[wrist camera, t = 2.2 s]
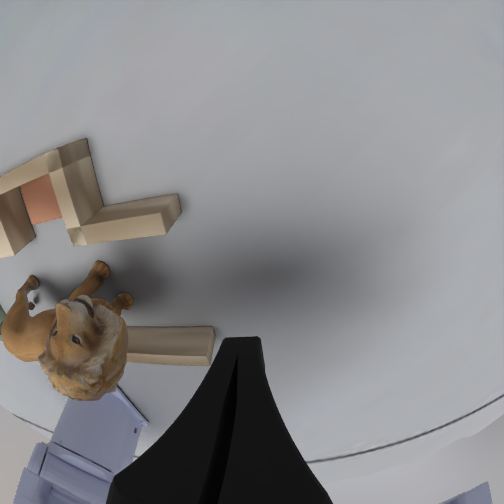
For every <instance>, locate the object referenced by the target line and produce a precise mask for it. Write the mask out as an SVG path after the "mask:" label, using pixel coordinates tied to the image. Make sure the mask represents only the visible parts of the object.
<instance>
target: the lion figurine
mask: <svg viewBox="0 0 504 504" xmlns="http://www.w3.org/2000/svg"><path fill="white" fill-rule="evenodd" d="M109 274H110V271H109V267H108V266H107V265H105V264H104V263H102V262H100V261H96V262H95V264H94V266H93V268H92V270H91V272H90V273H89V275H88V277H87V278H86V280H85V281H84V282H83V283H82V284H81V285H80V286H79V287H77V288H76V289H75V290H74V291H73V292H72V294H71V295H70V297H69V298H68V300H67V299H66V300H62V301H60V302H59V303H57V304H56V306H55V307H56V308H55V309H50V310H46V311H43V312H41V313H39V314H37V315H35V316H34V317H30V316H29V309H30V310H33V309H34V307H35V305H34V304H33V303H32V302H30V303H29V302H28V298H27V294H28V293H29V292H30V291H31V290H35V289H37V288H38V286H39V284H38V281H37V280H36V278H35V277H33V276H30V277H29V278H28V279H27V281H26V282H25V283H24V285H23V286H22V287H21V288H20V289H19V290H18V292H17V294H16V301H15V303H14V304H13V306H12V307H11V308H10V310H9V311H8V313H7V315H6V317H5V319H4V322H3V324H2V327H1V334H2V338H3V342H4V345H5V347H6V349H7V350H8V351H9V352H10V353H11V354H13V355H14V356H16V357H17V358H19V359H20V360H22V361H26V362H30V361H39V363H40V364H41V367H42V369H43V371H44V372H45V373H46V374H47V375H48V378H49V380H50V382H51V383H52V384H53V388H54V389H55V390H57V391H58V392H60V393H61V394H62V395H65V396H68V397H69V398H71V399H73V400H77V401H96V400H99V399H101V398H102V397H103V395H105V394H106V393H112V392H114V391H115V390H116V387H117V382H118V381H119V380H120V378H121V377H122V375H123V372H124V367H125V364H126V362H127V350H128V331H127V327H126V323H125V321H124V320H123V319H122V318H121V317H120V314H121V310H122V309H126V310H129V309H131V307H132V306H133V304H134V301H133V298H132V297H131V296H130V295H129V294H127V293H121V294H119V295H117V296H116V298H115V299H114V300H113V301H112V303H111V304H110V303H108V302H107V301H105V300H103V299H99V298H91V297H92V295H93V293H94V292H95V291H96V290H97V289H98V288H99V287H100V286H101V285H102V284H103V283H104V280H105V279H106V278H108V276H109Z"/></svg>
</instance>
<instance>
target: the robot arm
mask: <svg viewBox="0 0 504 504" xmlns="http://www.w3.org/2000/svg"><path fill="white" fill-rule="evenodd" d="M142 426H149V422H148V421H147V420H146V419H145V418H144V417H143V416H142V415H141V414H140V413H139V412H138V411H137V409H136V408H135V407H134V406H133V405H132V404H131V403H130V401H129V400H128V399H127V398H126V397H125V396H124V394H123V393H122V392H121V391H120V389H119V388H118V387H116V390H115V391H114V392H112V393H106V394H105V395H103V397H102V398H101V399H99V400H96V401H77V400H73V399H71V398H68V401H67V403H66V405H65V407H64V410H63V412H62V414H61V416H60V419H59V421H58V424H57V426H56V428H55V431H54V433H53V436H52V438H51V441H50V442H49V443H48V444H45V443H44V442H41V443H37V444H36V446H35V448H34V450H33V453H32V456H31V458H30V461H29V464H28V467H27V468H24V469H23V472H22V475H21V478H20V482H19V485H18V488H17V492H16V495H15V498H14V502H13V503H14V504H333V503H332V501H331V499H330V497H329V495H328V493H327V492H326V490H325V489H324V488H323V487H322V485H321V484H320V482H319V481H318V480H317V478H316V477H315V475H314V474H313V473H312V471H311V470H310V468H309V466H308V465H307V463H306V462H305V460H304V459H303V457H302V455H301V454H300V452H299V450H298V448H297V447H296V445H295V443H294V442H293V440H292V438H291V436H290V434H289V432H288V430H287V428H286V426H285V424H284V422H283V420H282V418H281V415H280V413H279V411H278V408H277V406H276V403H275V401H274V398H273V396H272V393H271V390H270V387H269V384H268V381H267V377H266V374H265V364H264V358H263V351H262V345H261V338H259V337H258V336H255V337H230V338H225V339H223V342H222V344H221V346H220V349H219V351H218V353H217V355H216V357H215V359H214V361H213V363H212V365H211V367H210V369H209V371H208V372H207V374H206V376H205V378H204V379H203V381H202V383H201V385H200V386H199V388H198V389H197V391H196V392H195V394H194V395H193V397H192V399H191V400H190V402H189V403H188V404H187V406H186V407H185V409H184V410H183V411H182V413H181V414H180V415H179V416H178V418H177V419H176V420H175V421H174V423H173V424H172V425H171V426H170V427H169V428H168V429H167V431H166V432H165V433H164V434H163V435H162V436H161V437H160V438H159V439H158V440H157V441H156V442H155V443H154V444H153V445H152V446H151V447H150V448H149V449H148V450H147V451H145V452H144V453H143V454H142V455H141V456H140V457H139V458H138V459H136V460H135V461H134V462H133V463H132V461H133V457H134V453H135V450H136V446H137V442H138V439H139V435H140V431H141V428H142ZM440 504H492V499H491V494H490V489H489V484H488V482H485V483H483V484H481V485H479V486H477V487H475V488H473V489H471V490H469V491H467V492H464V493H462V494H459V495H457V496H455V497H453V498H451V499H449V500H447V501H445V502H442V503H440Z"/></svg>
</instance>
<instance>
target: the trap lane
mask: <svg viewBox="0 0 504 504" xmlns="http://www.w3.org/2000/svg"><path fill="white" fill-rule="evenodd" d="M19 186H20V189H21V192H22V196H23V199H24V202H25V205H26V208H27V211H28V214H29V217H30V220H31V222H32V225H34V224H38V223H42V222H46V221H50V220H54V219H58V218H62V217H63V220H64V223H65V225H66V228H67V231H68V233H69V236H70V239H71V241H72V244H73V246H80V245H87V244H94V243H101V242H109V241H117V240H124V239H132V238H140V237H149V236H157V235H166V234H167V233H168V231H169V230H170V228H171V227H172V225H173V224H174V222H175V221H176V219H177V218H178V216H179V215H180V213H181V208H180V204H179V199H178V195H177V194H171V195H165V196H159V197H153V198H147V199H142V200H136V201H131V202H125V203H120V204H115V205H110V206H105V207H104V205H103V201H102V198H101V195H100V191H99V188H98V184H97V180H96V177H95V173H94V169H93V165H92V161H91V156H90V152H89V148H88V143H87V138H85V139H82V140H79V141H76V142H73V143H70V144H67V145H64V146H62V147H59V148H56V149H54V150H52V151H50V152H47V153H45V154H43V155H41V156H39V157H37V158H35V159H33V160H31V161H29V162H27V163H25V164H23V165H21V166H19V167H17V168H15V169H13V170H12V171H10V172H8V173H6V174H4V175H3V176H1V177H0V258H2V257H8V256H14V255H16V254H17V253H18V252H19V251H20V250H21V249H23V248H24V247H25V246H26V245H27V244H28V243H29V242H31V241H32V240H33V239H34V238H35V237H36V236H35V233H34V230H33V228H32V225H31V222H30V220H29V217H28V214H27V211H26V208H25V205H24V202H23V199H22V196H21V192H20V189H19ZM5 317H6V314H5V313H4V311H3V310H2V308H1V306H0V340H1V341H3V338H2V334H1V327H2V324H3V322H4V319H5ZM127 331H128V350H127V362H136V363H149V364H164V365H186V366H210V364H211V359H212V353H213V348H214V342H215V334H214V331H213V327H127Z"/></svg>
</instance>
